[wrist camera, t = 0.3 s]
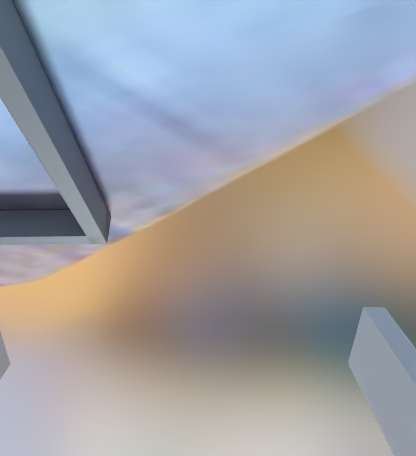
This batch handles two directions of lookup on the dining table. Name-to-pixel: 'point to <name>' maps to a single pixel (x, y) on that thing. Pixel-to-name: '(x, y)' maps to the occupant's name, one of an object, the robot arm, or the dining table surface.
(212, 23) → the dining table surface
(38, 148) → the corral
